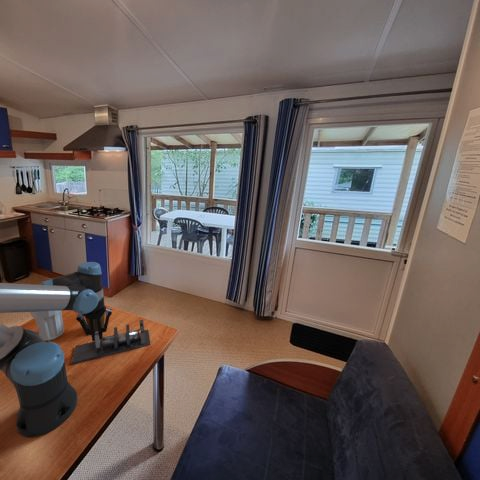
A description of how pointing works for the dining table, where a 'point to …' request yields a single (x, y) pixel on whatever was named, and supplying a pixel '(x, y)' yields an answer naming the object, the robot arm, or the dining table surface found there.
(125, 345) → the collar rail
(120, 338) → the tube
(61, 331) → the cup
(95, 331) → the disposable coffee cup
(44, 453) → the dining table surface
